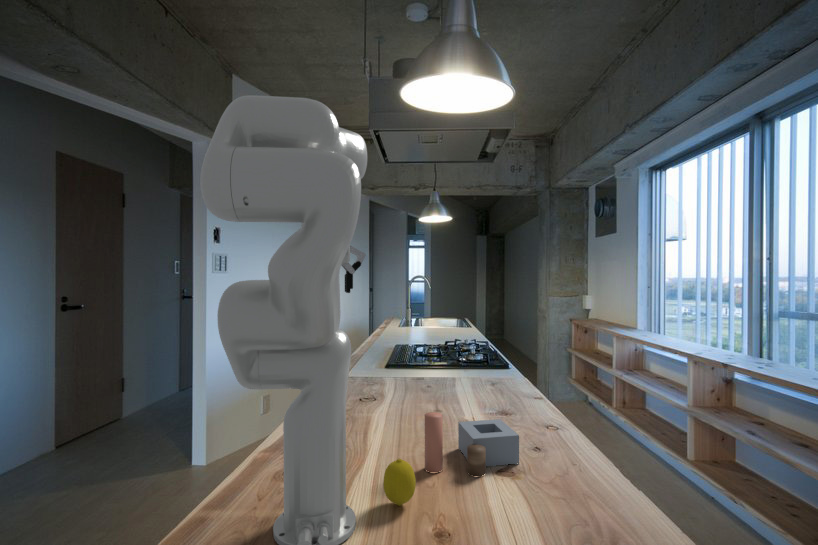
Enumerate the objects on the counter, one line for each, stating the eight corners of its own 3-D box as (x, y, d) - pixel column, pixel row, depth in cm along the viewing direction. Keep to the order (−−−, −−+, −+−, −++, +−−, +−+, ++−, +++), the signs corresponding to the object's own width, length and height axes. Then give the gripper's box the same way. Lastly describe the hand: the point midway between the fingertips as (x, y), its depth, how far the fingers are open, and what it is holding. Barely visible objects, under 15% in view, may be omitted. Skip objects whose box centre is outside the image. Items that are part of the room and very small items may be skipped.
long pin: (444, 472, 87) (444, 417, 87) (427, 474, 86) (426, 418, 86) (440, 464, 90) (439, 411, 90) (423, 466, 90) (422, 412, 90)
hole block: (519, 464, 91) (519, 435, 91) (473, 468, 89) (473, 438, 89) (500, 445, 100) (500, 419, 100) (458, 448, 99) (458, 421, 98)
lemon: (397, 494, 79) (397, 449, 79) (422, 504, 75) (422, 458, 75) (376, 506, 74) (376, 460, 74) (401, 518, 71) (401, 469, 71)
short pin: (488, 476, 85) (488, 450, 85) (470, 478, 85) (470, 452, 85) (481, 468, 89) (481, 443, 89) (464, 469, 88) (464, 444, 88)
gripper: (281, 207, 85) (282, 294, 85) (368, 210, 90) (368, 293, 90) (280, 212, 92) (281, 292, 92) (361, 214, 97) (361, 291, 98)
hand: (324, 293), depth 91 cm, fingers open, 9 cm apart
